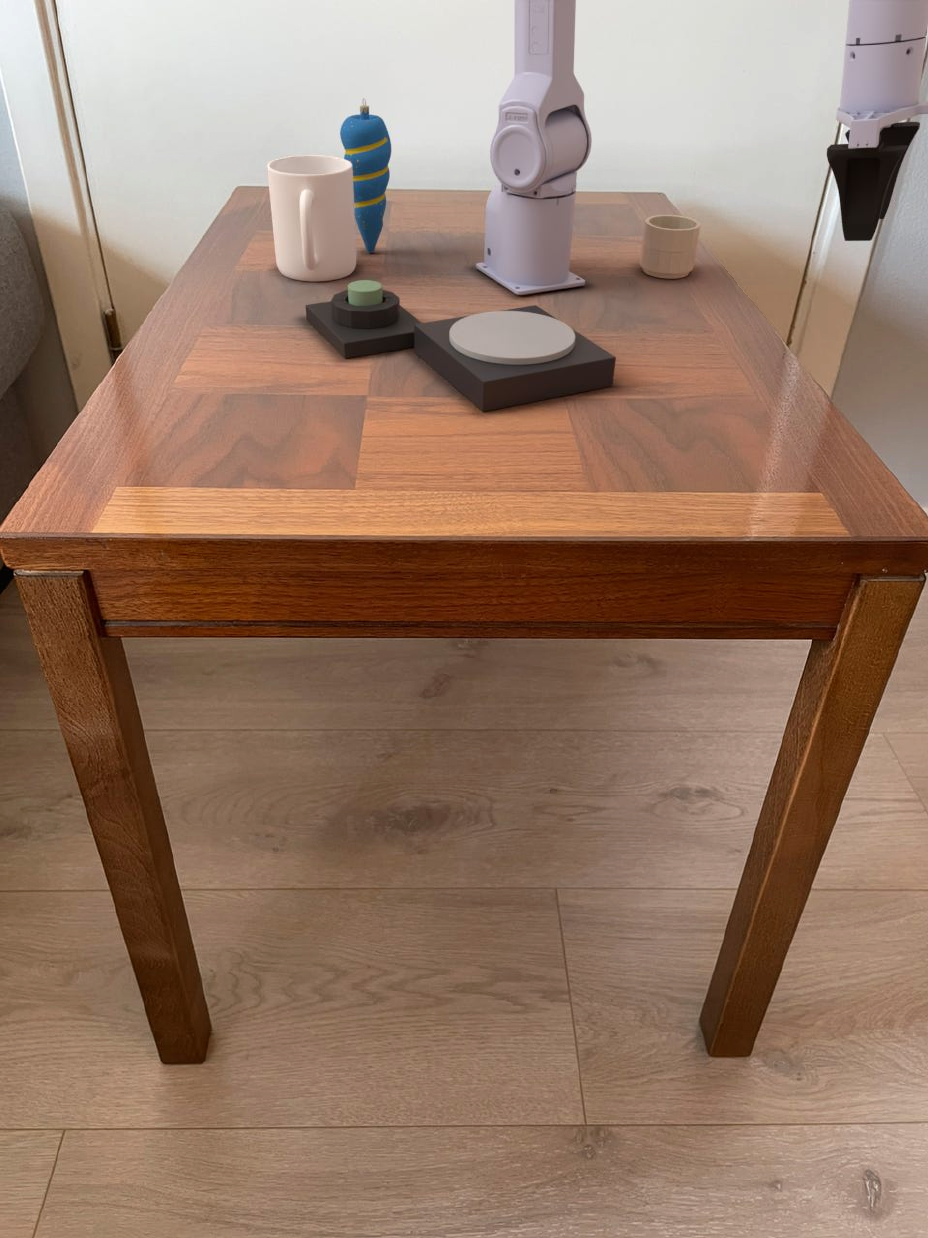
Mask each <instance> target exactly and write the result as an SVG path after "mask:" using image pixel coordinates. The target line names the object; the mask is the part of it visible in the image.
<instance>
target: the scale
mask: <svg viewBox="0 0 928 1238" xmlns="http://www.w3.org/2000/svg"><path fill="white" fill-rule="evenodd" d="M413 351H414V353H415V354H416V355H417V356H418V357H420V359H422V360H423V361H424V362H425V363H426V364H427V365H428V366H429V367H431V368H432V369H433V370H435V372H437V374H439V375H440V376H441V377H442V378H444V379H445V381H447V382H448V383H449V384H450V385H451V386H452V387H454V389H456V390H457V391H458V392H459V393H460V394H462V395H463V396H464V397H465V398H466V399H467V400H469V401H470V403H472V404H473V405H474V406H475V407H476V408H478V409H479V411H481V412H483V413H484V412H490V411H494V410H500V409H504V408H505V409H506V408H510V407H515V406H519V405H524V404H525V405H526V404H530V403H534V402H539V401H545V400H549V399H554V398H559V397H564V396H570V395H574V394H575V395H576V394H580V393H586V392H590V391H594V390H599V389H600V390H601V389H604V388H609V387H613V384H614V377H615V369H616V368H615V367H616V359H617V358H616V356H615V355H614V354H611V353H610V352H609V351H607V350H605V349H604V348H602V347H601V346H599V345H598V344H596V343H595V342H594V341H591V340H590V339H589V338H587V337H586V336H584V335H582V334H581V333H579V332H578V331H577V330H575V329H573V328H572V327H570V325H568V324H567V323H565V322H563V321H561V320H559V319H558V318H556V317H555V316H553V315H552V314H550V313H549V312H548V311H546V310H544V309H542V308H541V307H540V306H538V305H537V304H535V305H527V306H522V307H515V308H509V309H503V310H495V311H486V312H479V313H476V314H475V313H474V314H471V315H465V316H458V317H452V318H446V319H440V320H434V321H428V322H427V321H426V322H421V323H420V324H414V347H413Z"/></svg>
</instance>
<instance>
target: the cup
mask: <svg viewBox="0 0 928 1238" xmlns="http://www.w3.org/2000/svg"><path fill="white" fill-rule="evenodd" d="M266 169H267V181H268V191H269V201H270V210H271V211H270V213H271V222H272V231H273V244H274V253H275V262H276V263H275V264H276V267H277V269H278V271H279V272H280V273H281V274H282V275H283V276H284V277H286V278H288V279H292V280H295V281H301V282H302V281H303V282H328V281H329V282H330V281H335V280H340V279H342V278H345V277H348V276H350V275H351V274H352V273H354V271H355V269H356V267H357V238H356V235H357V234H356V219H355V211H354V209H355V204H354V189H353V167H352V163H351V162H350V161H348V160H345V159H344V158H342V157H338V156H332V155H323V154H322V155H321V154H320V155H319V154H301V155H291V156H290V155H289V156H284V157H280V158H275V159H273V160H271V161H269V162H268V163H267V165H266Z"/></svg>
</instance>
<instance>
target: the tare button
mask: <svg viewBox="0 0 928 1238" xmlns="http://www.w3.org/2000/svg"><path fill="white" fill-rule="evenodd" d="M347 290H348V301H349V304H351V305H355V306H374V305H379V304H381V303H382V290H383V285H382V283H381V282H378V281H375V280H369V279H362V280H361V279H359V280H355V281H352V282H350V283H348V285H347Z"/></svg>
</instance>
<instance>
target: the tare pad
mask: <svg viewBox="0 0 928 1238" xmlns="http://www.w3.org/2000/svg"><path fill="white" fill-rule="evenodd" d="M400 302H401V300H400V296H398V295H397V294H396V293H394V292H393V291H390V290H386V289H382V303H381V304H379V305H374V306H355V305H351V304H349V301H348V289H344V290H342V291H339V292H338V293H335V294H333V296H332V298H331V300H330V301H323V302H317V303H309V304H305V314H306V315H305V318H306V321H308V323H309V324H311V325H312V327H313V328H314V329H315V330H316V331H317V332H318V333H319V334H320V335H321V336H322V337H323V338H324V339H325V340H326V341H327V342H328V343H329V344H330V345H331V346H332V347H333V348H334V349H335V350H336V351H337V352H338V353H339V354H340V355H341V356H342V357H343V358H344V359H350V358H356V357H362V356H363V357H364V356H368V355H375V354H380V353H387V352H393V351H398V350H405V349H411V348H414V324H420V323H422V322H421V321H420V320H419V319H418V318H417V317H416V316H414V315H413V314H411V313H410V312H409V311H408V310H406V309H405V308H404V307H403V306H402V305H401V303H400Z"/></svg>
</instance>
